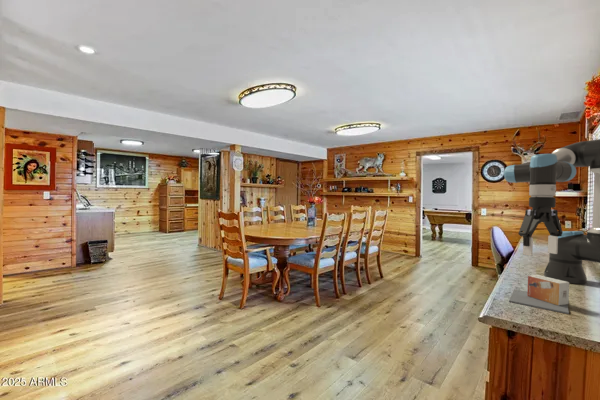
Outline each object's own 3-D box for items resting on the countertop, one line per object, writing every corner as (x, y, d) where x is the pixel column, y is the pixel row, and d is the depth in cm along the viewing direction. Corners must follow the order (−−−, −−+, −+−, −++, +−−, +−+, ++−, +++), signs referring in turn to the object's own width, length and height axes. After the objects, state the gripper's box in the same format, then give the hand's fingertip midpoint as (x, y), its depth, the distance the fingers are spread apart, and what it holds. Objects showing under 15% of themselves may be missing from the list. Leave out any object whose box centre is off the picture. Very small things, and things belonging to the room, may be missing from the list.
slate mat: (514, 290, 120) (514, 289, 120) (566, 300, 110) (566, 298, 110) (509, 301, 107) (509, 300, 107) (568, 314, 96) (568, 312, 96)
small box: (559, 306, 102) (526, 296, 112) (569, 304, 104) (536, 295, 114) (559, 283, 102) (527, 275, 112) (569, 281, 104) (537, 274, 114)
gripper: (529, 196, 100) (527, 258, 100) (576, 197, 108) (574, 254, 109) (507, 196, 107) (506, 253, 107) (552, 196, 115) (551, 250, 116)
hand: (540, 254), depth 108 cm, fingers open, 13 cm apart
